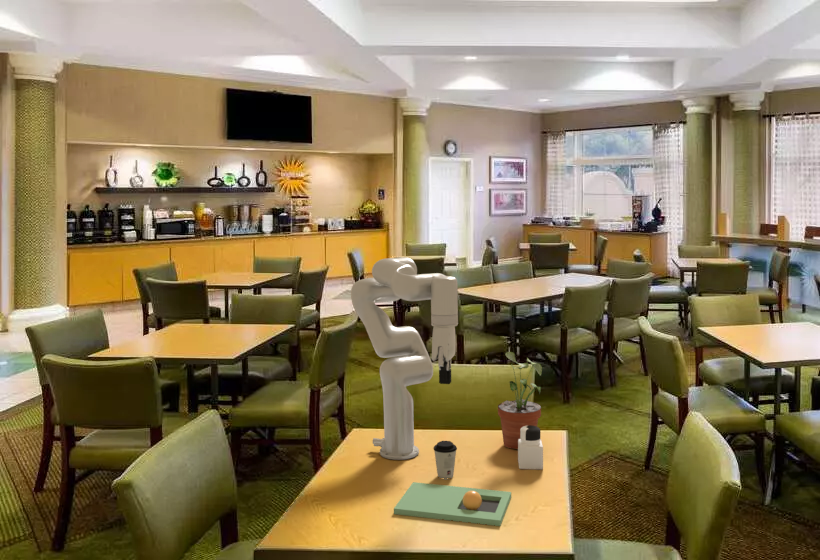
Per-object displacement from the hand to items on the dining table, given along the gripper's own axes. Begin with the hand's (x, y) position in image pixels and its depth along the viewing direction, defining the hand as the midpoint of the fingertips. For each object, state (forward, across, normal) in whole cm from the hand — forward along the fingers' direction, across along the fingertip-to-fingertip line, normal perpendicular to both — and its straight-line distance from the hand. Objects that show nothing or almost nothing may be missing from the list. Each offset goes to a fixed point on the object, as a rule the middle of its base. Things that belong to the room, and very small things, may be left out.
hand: (445, 383), depth 207 cm
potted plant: (+29, -35, +17) cm, 49 cm away
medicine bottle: (+29, -18, +22) cm, 41 cm away
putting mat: (+29, +16, +6) cm, 34 cm away
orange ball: (+26, +18, +12) cm, 34 cm away
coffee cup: (+29, -3, -1) cm, 29 cm away
